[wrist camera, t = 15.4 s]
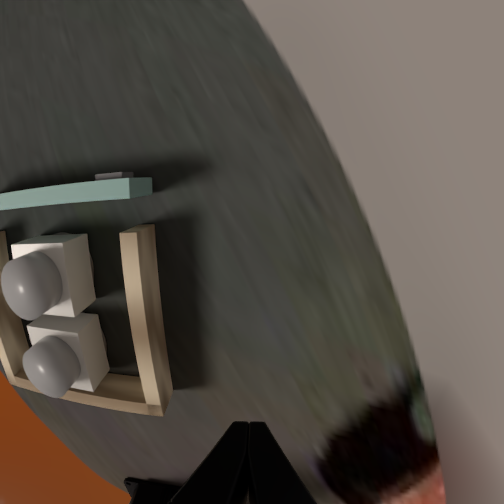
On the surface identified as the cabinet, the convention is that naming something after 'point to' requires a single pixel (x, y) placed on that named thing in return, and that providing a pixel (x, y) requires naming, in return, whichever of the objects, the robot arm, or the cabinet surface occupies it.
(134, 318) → the housing
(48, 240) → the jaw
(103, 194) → the panel
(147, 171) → the cabinet surface
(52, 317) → the jaw
